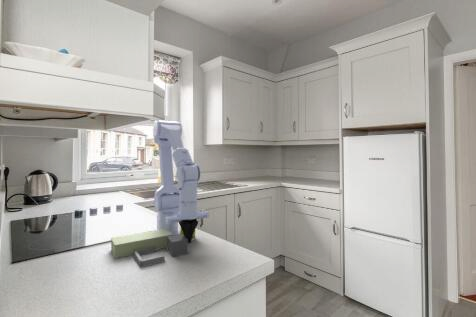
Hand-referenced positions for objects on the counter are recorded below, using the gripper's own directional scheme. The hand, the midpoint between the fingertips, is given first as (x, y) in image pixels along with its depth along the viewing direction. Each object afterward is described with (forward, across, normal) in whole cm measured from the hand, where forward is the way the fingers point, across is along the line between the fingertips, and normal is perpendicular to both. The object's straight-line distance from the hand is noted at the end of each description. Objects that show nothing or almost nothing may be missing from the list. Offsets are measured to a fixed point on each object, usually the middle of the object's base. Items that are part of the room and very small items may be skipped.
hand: (188, 242), depth 83 cm
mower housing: (+2, -12, +4) cm, 13 cm away
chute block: (+2, -4, 0) cm, 4 cm away
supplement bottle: (+3, +4, +9) cm, 10 cm away
